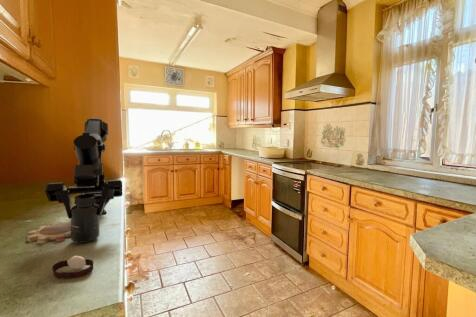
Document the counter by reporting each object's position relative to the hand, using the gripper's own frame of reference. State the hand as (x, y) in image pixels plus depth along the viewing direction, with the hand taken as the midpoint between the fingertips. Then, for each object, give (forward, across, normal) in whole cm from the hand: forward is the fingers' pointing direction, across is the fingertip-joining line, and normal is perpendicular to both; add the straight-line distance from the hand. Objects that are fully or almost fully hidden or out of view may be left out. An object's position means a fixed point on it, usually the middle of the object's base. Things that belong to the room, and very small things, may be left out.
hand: (84, 216), depth 66 cm
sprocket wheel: (-2, -8, +13) cm, 15 cm away
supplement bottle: (+4, 0, +6) cm, 7 cm away
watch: (+17, 0, -6) cm, 18 cm away
